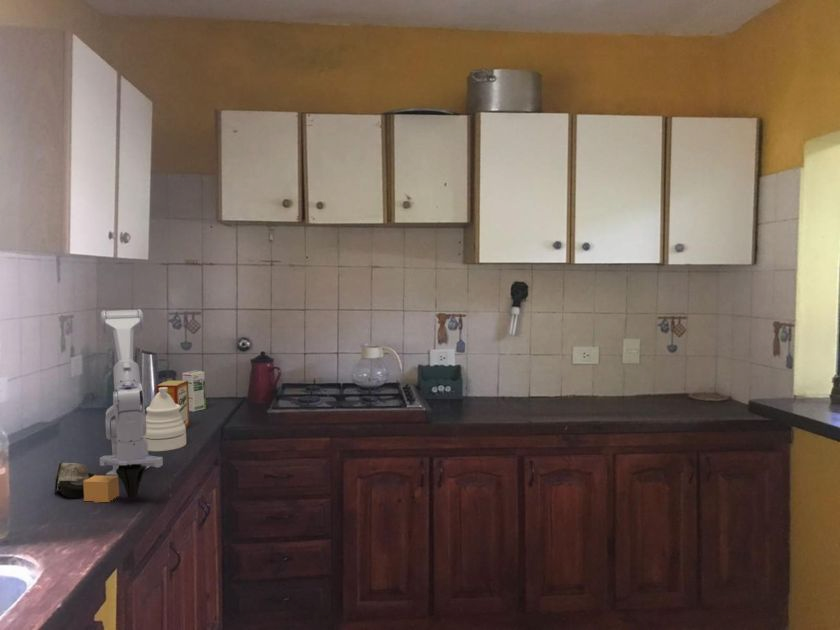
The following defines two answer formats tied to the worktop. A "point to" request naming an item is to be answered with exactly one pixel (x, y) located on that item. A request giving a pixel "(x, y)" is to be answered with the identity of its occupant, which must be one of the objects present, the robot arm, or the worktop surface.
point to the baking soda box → (179, 396)
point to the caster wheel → (71, 479)
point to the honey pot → (164, 423)
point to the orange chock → (101, 488)
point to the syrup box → (196, 390)
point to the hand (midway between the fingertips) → (132, 495)
